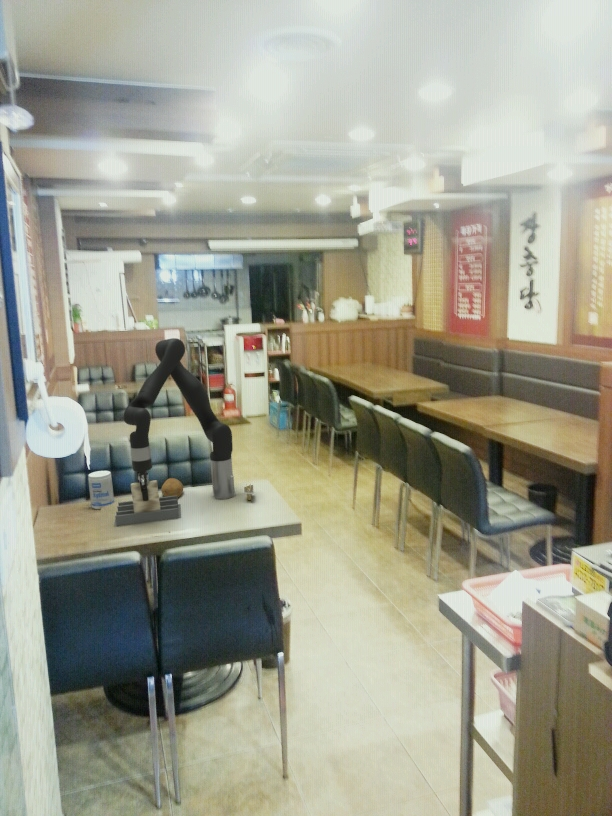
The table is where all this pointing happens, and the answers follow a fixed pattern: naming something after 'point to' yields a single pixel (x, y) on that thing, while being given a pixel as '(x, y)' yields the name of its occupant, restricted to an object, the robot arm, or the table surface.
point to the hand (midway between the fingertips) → (145, 499)
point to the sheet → (153, 497)
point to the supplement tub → (100, 489)
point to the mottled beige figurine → (248, 491)
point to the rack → (166, 512)
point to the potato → (172, 488)
